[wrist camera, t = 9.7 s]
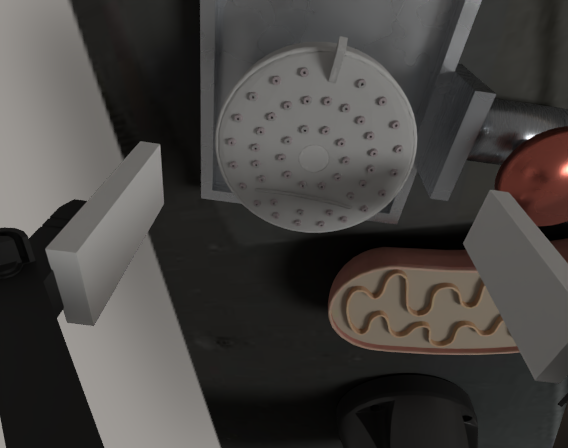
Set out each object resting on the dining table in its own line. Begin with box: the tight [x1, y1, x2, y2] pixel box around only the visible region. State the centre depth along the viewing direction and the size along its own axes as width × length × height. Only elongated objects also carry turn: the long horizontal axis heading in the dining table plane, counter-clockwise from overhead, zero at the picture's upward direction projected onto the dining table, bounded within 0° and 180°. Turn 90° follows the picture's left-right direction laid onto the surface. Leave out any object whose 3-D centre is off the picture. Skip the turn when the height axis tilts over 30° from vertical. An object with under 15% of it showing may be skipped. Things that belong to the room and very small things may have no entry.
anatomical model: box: [328, 238, 568, 355], centre depth 29 cm, size 23×10×5 cm, turn 97°
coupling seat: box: [200, 0, 568, 226], centre depth 21 cm, size 22×14×7 cm
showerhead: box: [215, 36, 417, 233], centre depth 20 cm, size 9×7×10 cm
